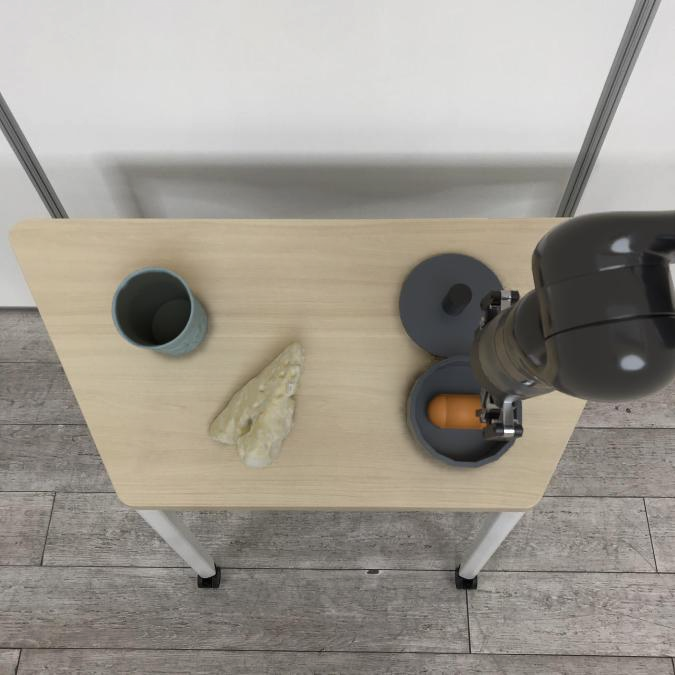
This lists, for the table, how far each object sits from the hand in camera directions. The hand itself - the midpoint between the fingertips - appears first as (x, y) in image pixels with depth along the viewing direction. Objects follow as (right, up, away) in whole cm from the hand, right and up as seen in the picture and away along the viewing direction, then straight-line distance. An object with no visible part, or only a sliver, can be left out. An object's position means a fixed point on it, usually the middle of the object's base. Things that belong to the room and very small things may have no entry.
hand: (484, 374), depth 66 cm
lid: (0, +8, +18) cm, 20 cm away
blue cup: (-38, +6, +20) cm, 43 cm away
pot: (0, -6, +17) cm, 18 cm away
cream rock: (-26, -5, +18) cm, 31 cm away
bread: (0, -6, +16) cm, 17 cm away
